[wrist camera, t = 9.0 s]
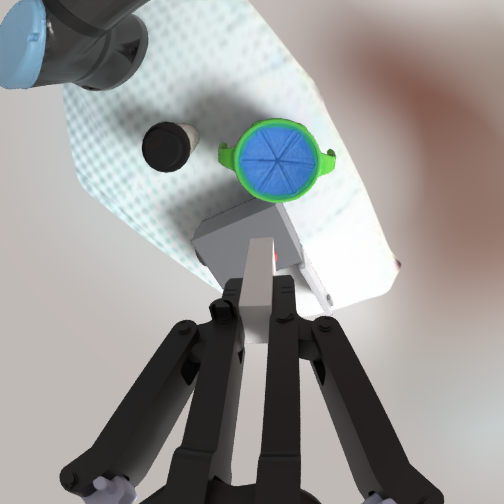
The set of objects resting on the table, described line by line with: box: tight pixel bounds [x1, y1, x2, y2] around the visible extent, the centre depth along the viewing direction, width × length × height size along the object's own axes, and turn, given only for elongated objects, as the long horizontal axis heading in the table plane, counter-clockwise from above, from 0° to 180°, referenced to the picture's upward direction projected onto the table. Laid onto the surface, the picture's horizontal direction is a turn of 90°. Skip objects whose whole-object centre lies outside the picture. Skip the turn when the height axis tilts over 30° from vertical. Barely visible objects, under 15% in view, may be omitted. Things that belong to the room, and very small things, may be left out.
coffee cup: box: [142, 122, 199, 173], centre depth 35 cm, size 7×7×10 cm
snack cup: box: [218, 118, 336, 203], centre depth 35 cm, size 16×10×10 cm
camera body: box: [191, 198, 302, 289], centre depth 44 cm, size 10×15×8 cm, turn 116°
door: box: [297, 244, 333, 316], centre depth 47 cm, size 2×13×6 cm, turn 31°
